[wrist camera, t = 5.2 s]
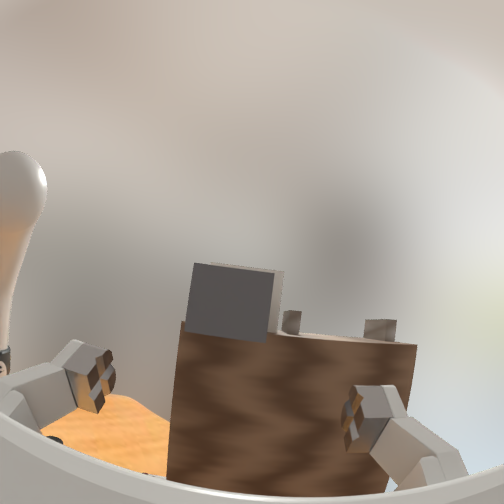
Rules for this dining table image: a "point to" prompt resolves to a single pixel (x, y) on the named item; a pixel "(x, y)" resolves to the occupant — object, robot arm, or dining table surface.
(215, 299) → the grey and white block
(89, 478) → the robot arm
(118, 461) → the dining table surface
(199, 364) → the brown wood grain box
